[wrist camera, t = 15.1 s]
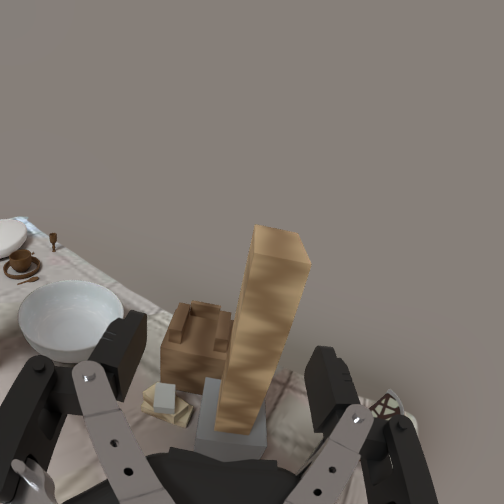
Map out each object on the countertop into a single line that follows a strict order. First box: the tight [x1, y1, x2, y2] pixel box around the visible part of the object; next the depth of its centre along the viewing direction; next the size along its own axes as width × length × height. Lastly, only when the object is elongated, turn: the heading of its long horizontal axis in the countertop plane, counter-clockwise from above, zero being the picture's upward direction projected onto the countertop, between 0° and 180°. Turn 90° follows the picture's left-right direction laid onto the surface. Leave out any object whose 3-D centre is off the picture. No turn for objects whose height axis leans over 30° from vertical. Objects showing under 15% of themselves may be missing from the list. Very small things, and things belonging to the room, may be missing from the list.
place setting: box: [3, 233, 57, 285], centre depth 58 cm, size 18×20×6 cm
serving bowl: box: [18, 280, 124, 363], centre depth 42 cm, size 21×21×7 cm
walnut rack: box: [160, 301, 234, 395], centre depth 43 cm, size 10×10×12 cm
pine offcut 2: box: [141, 400, 193, 428], centre depth 35 cm, size 7×4×2 cm, turn 81°
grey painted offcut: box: [153, 382, 175, 414], centre depth 33 cm, size 4×3×2 cm, turn 9°
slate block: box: [194, 377, 267, 462], centre depth 32 cm, size 8×10×8 cm
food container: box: [359, 388, 404, 461], centre depth 31 cm, size 12×6×10 cm, turn 125°
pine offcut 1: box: [143, 382, 189, 424], centre depth 34 cm, size 6×3×2 cm, turn 60°
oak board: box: [214, 224, 311, 435], centre depth 26 cm, size 4×7×22 cm, turn 179°
